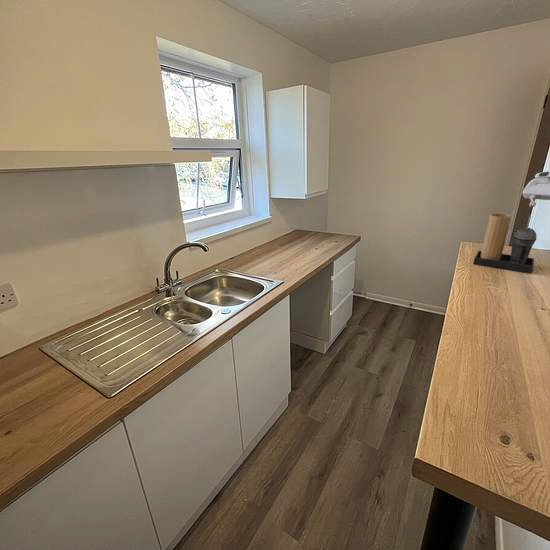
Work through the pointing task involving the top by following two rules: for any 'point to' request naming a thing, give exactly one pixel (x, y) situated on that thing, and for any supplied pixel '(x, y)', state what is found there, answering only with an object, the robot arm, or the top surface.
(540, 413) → the top surface
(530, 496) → the top surface
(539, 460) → the top surface
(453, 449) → the top surface
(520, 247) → the beverage cup
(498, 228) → the wooden cylinder
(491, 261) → the tray
